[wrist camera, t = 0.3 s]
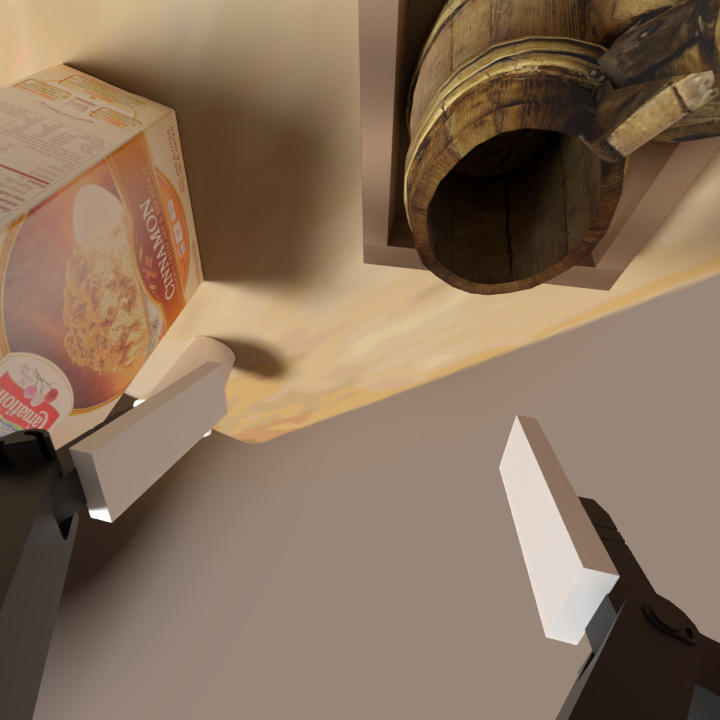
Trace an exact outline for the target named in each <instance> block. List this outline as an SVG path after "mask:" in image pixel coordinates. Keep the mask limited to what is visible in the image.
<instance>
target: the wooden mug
mask: <svg viewBox="0 0 720 720" xmlns="http://www.w3.org/2000/svg"><path fill="white" fill-rule="evenodd" d="M405 109H406V123H407V131H408V136H409V141H410V146H409V149H408V152H407V156H406V160H405V175H404V204H405V209H406V214H407V218H408V223H409V226H410V228H411V230H412V233H413V238H414V243H415V247H416V250H417V252H418V254H419V257H420V259H421V262H422V264H423V265H424V266H425V267H426V268H427V269H429V270H430V271H431V272H432V273H433V274H435V275H436V276H437V277H439V278H440V279H442V280H443V281H445V282H446V283H448V284H449V285H451V286H452V287H454V288H457V289H460V290H463V291H465V292H468V293H473V294H482V295H494V294H504V293H511V292H516V291H521V290H526V289H531V288H533V287H535V286H538V285H540V284H542V283H544V282H547V281H549V280H551V279H553V278H554V277H556V276H558V275H560V274H562V273H563V272H565V271H567V270H569V269H570V268H571V267H573V266H574V265H576V264H577V263H578V262H580V261H581V260H583V259H584V258H586V257H587V256H588V255H589V254H590V253H591V252H592V250H593V249H594V248H595V247H596V246H597V244H598V243H599V242H600V241H601V240H602V239H603V237H604V236H605V235H606V234H607V231H608V229H609V226H610V223H611V221H612V218H613V215H614V213H615V210H616V207H617V205H618V202H619V199H620V197H621V194H622V187H623V179H624V176H625V173H626V171H627V167H628V160H629V154H630V153H632V152H633V151H635V150H636V149H637V148H639V147H640V146H642V145H643V144H645V143H646V142H648V141H650V142H652V143H679V142H686V141H693V140H699V139H705V138H711V137H717V136H720V0H446V2H445V4H444V6H443V7H442V9H441V11H440V13H439V14H438V16H437V18H436V20H435V21H434V23H433V25H432V27H431V29H430V31H429V33H428V35H427V37H426V39H425V41H424V43H423V45H422V47H421V51H420V54H419V57H418V60H417V63H416V66H415V70H414V73H413V76H412V79H411V83H410V86H409V90H408V93H407V97H406V101H405Z"/></svg>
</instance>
